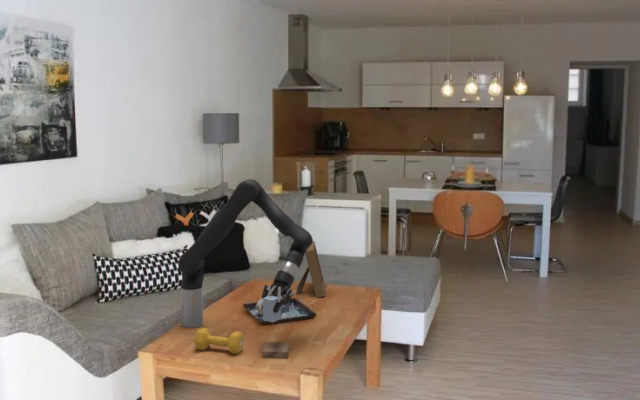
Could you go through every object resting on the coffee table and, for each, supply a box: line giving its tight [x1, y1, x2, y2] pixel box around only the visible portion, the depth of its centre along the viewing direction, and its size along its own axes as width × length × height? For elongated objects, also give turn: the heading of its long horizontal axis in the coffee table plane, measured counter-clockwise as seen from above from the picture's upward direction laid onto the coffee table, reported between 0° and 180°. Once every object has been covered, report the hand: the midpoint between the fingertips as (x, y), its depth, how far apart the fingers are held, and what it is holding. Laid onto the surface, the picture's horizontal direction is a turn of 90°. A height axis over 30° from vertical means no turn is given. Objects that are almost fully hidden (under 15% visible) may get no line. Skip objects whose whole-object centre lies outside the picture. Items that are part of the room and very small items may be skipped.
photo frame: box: [295, 240, 326, 299], centre depth 348 cm, size 15×22×25 cm
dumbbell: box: [194, 327, 245, 355], centre depth 267 cm, size 19×9×8 cm, turn 76°
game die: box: [253, 297, 263, 315], centre depth 311 cm, size 9×8×10 cm
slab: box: [261, 341, 290, 359], centre depth 265 cm, size 10×10×3 cm
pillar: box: [262, 296, 282, 323], centre depth 266 cm, size 5×5×9 cm
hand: (269, 310), depth 265 cm, fingers closed on pillar, 5 cm apart
